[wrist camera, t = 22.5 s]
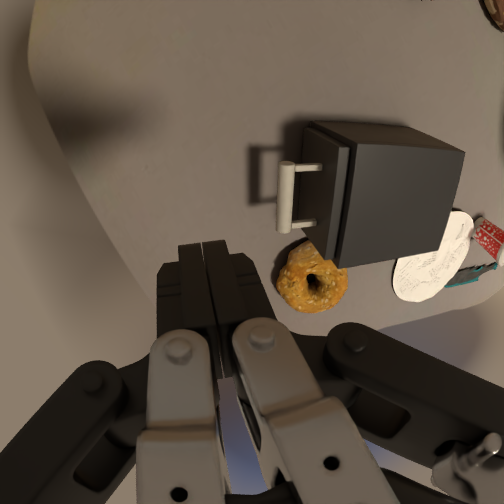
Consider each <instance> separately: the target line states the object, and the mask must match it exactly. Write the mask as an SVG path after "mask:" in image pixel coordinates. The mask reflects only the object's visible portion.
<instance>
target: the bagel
mask: <svg viewBox="0 0 504 504" xmlns="http://www.w3.org/2000/svg"><path fill="white" fill-rule="evenodd" d="M308 274H314V275H315V277H316V278H315V279H316V280H315V282H312V283H310V284H308V282H307V279H306V277H307V275H308ZM347 283H348V275H347V269H346V268H342V269H337V267H336V266H335V264H334V263H333V262H332V261H331V260H324V259H323V258H322V257H321V255H320V254H319V252H318V251H317V250H316V248H315V247H314V245H313V244H312V243H311V241H310V240H308V241H305V242H304V243H302V244H301V245H299V246H298V247H296V248H295V249H294V250H291V251H290V253H289V256H288V261H287V265H285V266H284V267H282V269H281V270H280V275H279V277H278V279H277V283H276V288H277V289H278V291H279V292H280V294H281V296H282V297H283V298H284V299H285V301H286V303H287V304H289V306H291V307H292V308H293V309H295V310H296V311H299V312H304V313H317V312H321V311H324V310H327V309H330V308H332V307H333V306H334V305H335V304H337V303H338V302H339V300H340V299H341V297H342V296H343V295H344V292H345V291H346V290H347V287H348V285H347Z"/></svg>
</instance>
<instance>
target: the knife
mask: <svg viewBox="0 0 504 504" xmlns="http://www.w3.org/2000/svg"><path fill="white" fill-rule="evenodd" d="M497 265H498V264H497V263H496V262H495V263H494V264H493V265H491V266H489V267H487V266H488V265H484V266H482V267H481V268H480V269H478V270H475V269H476V268H477V267H478V266H476V267H473V268H471V267H470V268H468V269H465V270H461V271H458V272H456V273H455V275H454V276H453V277H452V278H451V279H450V280H449V281H448V282H447V284H446V285H445V286H444V287H453V286H457V285H463V284H467V283H471V282H474V281H478V277H479V276H480V275H481V274H483V273H485V272H487V271H489V270H492V269H494V270H495V269H496V267H497Z"/></svg>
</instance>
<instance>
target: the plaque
mask: <svg viewBox="0 0 504 504" xmlns="http://www.w3.org/2000/svg"><path fill="white" fill-rule="evenodd" d="M473 230H474V223H473V220H472V218H471V217H470V216H469V215H468V214H467V213H464V212H461V211H454V212H451V213H450V216H449V220H448V223H447V226H446V229H445V232H444V235H443V238H442V241H441V244H440V247H439V250H438V251H434V252H429V253H424V254H419V255H413V256H408V257H403V258H399V259H398V261H397V264H396V268H395V272H394V277H393V288H394V291H395V293H396V294H397V296H398V297H399V298H401V299H403V300H405V301H413V302H421V301H423V300H426V299H428V298H431V297H433V296H434V295H435V294H436V293H438V292H439V291H440V290H441V289H442V288H443V287H444V286H445V285H446V284H447V282H448V281H449V280H450V279H451V278H452V277H453V276H454V275H455V273H456V272H457V271H458V269H459V267H460V266H461V264H462V262H463V260H464V259H465V257H466V255H467V252H468V249H469V245H470V239H471V237H472V232H473Z"/></svg>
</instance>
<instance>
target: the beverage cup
mask: <svg viewBox="0 0 504 504" xmlns="http://www.w3.org/2000/svg"><path fill="white" fill-rule="evenodd" d="M472 237H473V238H474V239H475V240H476V241H477V242H478V243H479V244H480V245H481V246H482V247H483V248H484V249H485V250H486V251H487V252H488V253H489V254H490V255H491V256H492V257H493V258H494V259H495V260H496V262H497V263H498V264H499V265H500V266H503V265H504V231H503V230H501V229H500V228H498V227H497V226H495V225H494V224H492V223H491V222H489V221H488V220H486V219H484V218H483V217H480V218H478V219H477V220H476V221H475V222H474V230H473V232H472Z"/></svg>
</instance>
